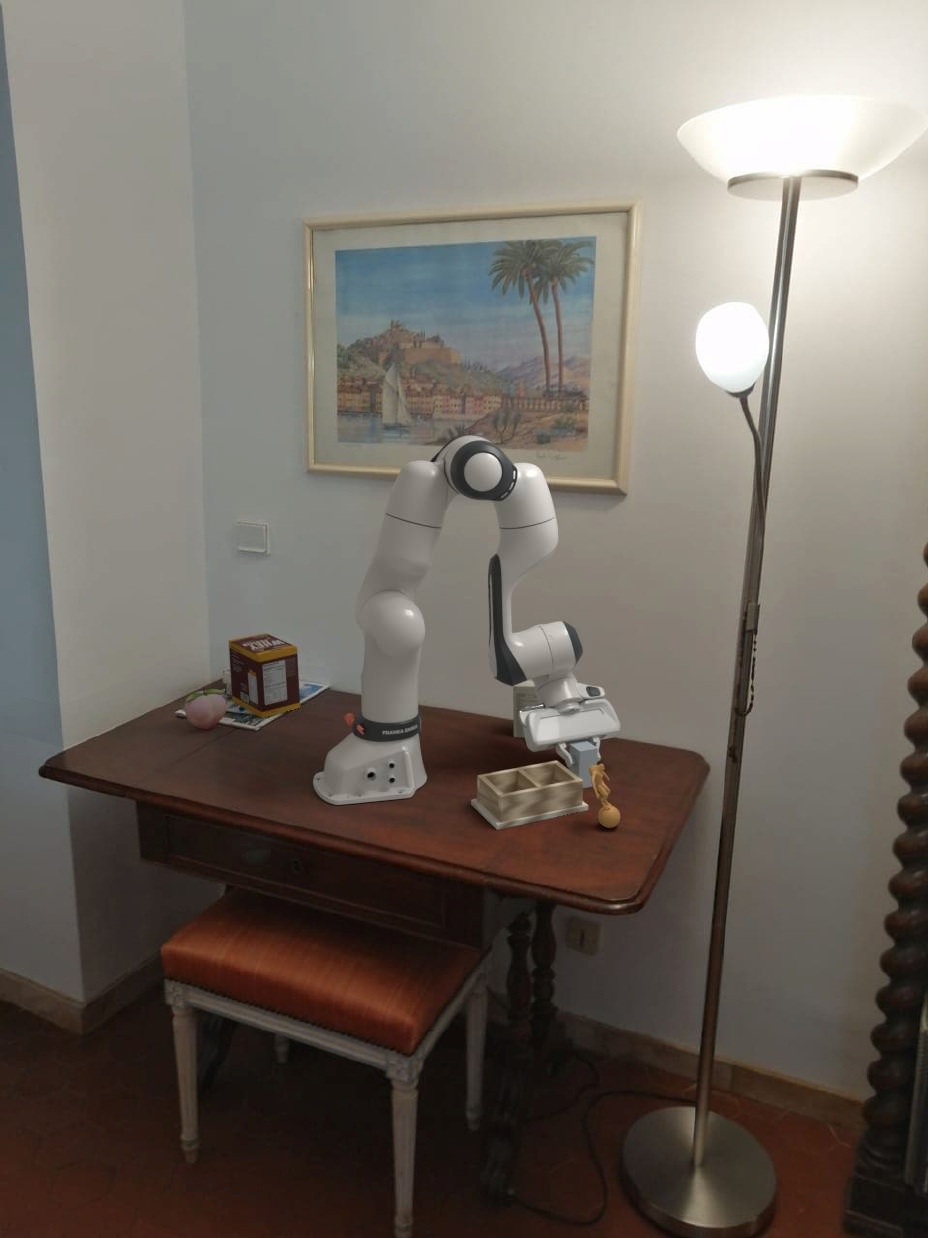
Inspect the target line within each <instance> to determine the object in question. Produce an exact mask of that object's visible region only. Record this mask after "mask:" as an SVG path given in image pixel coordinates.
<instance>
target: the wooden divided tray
mask: <svg viewBox="0 0 928 1238" xmlns="http://www.w3.org/2000/svg"><path fill="white" fill-rule="evenodd" d="M476 778H477V785H476V787H477V791H476V795H477V796H476V798H473V799H471V800H470V801H471V802H470V805H471V806H472V807H473V808H474V809H475V810H477V812H478V813H479V814H480V815H481V816H483V818H484V819H485V820H486V821H487V822H488V823H490V825H492V827H494V829H496V830H498V831H499V830H502V829H507V828H512V827H517V826H521V825H526V824H530V823H535V822H539V821H540V822H541V821H545V820H549V819H553V818H557V817H558V816H559V817H563V815H564V816H568V815H571V814H572V813H573V814H577V813H582V812H586V811H589V804H587V803H586V802H585V801H584V800H583V798H584V797H583V795H584V788H583V780H582V779H581V778H579V777H578V776H577V775H575V774H574V773H573V772H571V771H570V770H569V768H568V767H567V766H564V765H563V764H562V763H561V762H560V761H558V760H552V761H547V762H546V761H545V762H542V763H541V762H540V763H537V764H529V765H526V766H525V765H524V766H519V767H515V768H510V769H504V770H499V771H493V772H490V773H488V772H487V773H483V774H478V775H477V777H476ZM576 812H577V813H576ZM567 814H568V815H567ZM559 817H558V818H559Z"/></svg>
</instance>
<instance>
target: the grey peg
mask: <svg viewBox="0 0 928 1238" xmlns="http://www.w3.org/2000/svg"><path fill="white" fill-rule="evenodd" d="M598 751H599V750H598V748H597V747H595V746H594V745H592V744H591V743H589V742H588V741H583V742H578V743H573V744H570V745H569V750H568V753H569V754H570V755H575V758H576V760H577V764H576V765H575V766H572V767H568V769H569V770H570V771H571V772H573V773H574V774H575V775H577V776H578V777H579V778H581V779H582V780H583V789H587V788H591V787H592V788H593V786H592V784H591V778H592V777H591V775H590V773H589V768H590V767H591V766H594V765H598V762H597V753H598ZM594 783H595V782H594ZM595 787H597V785H596V784H595Z"/></svg>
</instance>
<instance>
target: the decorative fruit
mask: <svg viewBox="0 0 928 1238" xmlns="http://www.w3.org/2000/svg"><path fill="white" fill-rule="evenodd" d="M221 694H226V692H224V691H223V690H222V689H217V688H210V689H207V690H205V687H202V690H201V691H196V692H194V693H192V694H190V695H188V697H187V698H186V699H185V700H184V713H185V716H186V718H187V720H188V721H189V723H191V725H192V726H194V727H196V728H199V729H203V730H209V729H211V728H213V727H214V726H216V725H217V724H219V722H220V721H221V720H222V719H223V718H224V717H225V714H226V712H227V709H228V708H227V701H226V699H225V697H223V695H221Z"/></svg>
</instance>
